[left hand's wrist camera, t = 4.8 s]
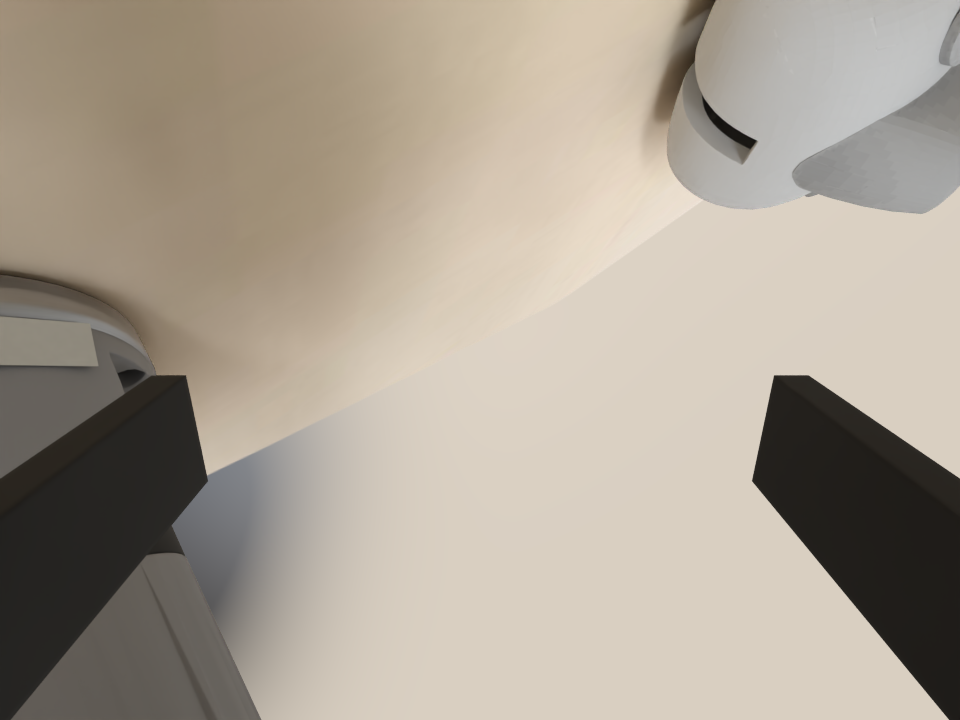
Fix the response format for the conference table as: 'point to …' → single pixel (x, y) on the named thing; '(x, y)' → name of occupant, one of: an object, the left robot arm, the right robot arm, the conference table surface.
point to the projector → (822, 104)
